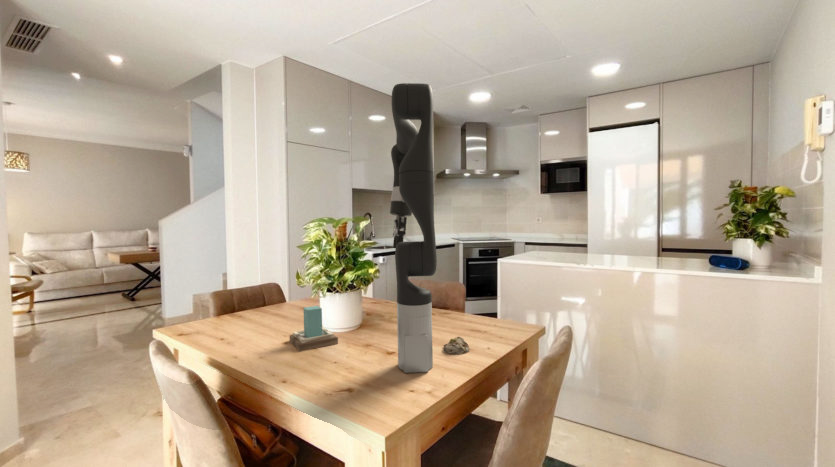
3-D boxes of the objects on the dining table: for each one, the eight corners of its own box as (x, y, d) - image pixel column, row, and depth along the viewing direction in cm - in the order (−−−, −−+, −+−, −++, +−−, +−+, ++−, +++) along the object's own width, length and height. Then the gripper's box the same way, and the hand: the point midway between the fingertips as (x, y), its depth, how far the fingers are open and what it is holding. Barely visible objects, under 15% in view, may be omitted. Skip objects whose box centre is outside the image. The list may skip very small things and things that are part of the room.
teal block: (322, 336, 121) (321, 308, 121) (308, 338, 119) (307, 310, 119) (317, 332, 125) (317, 305, 125) (304, 335, 123) (303, 307, 122)
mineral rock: (468, 349, 107) (441, 339, 110) (464, 363, 108) (438, 353, 110) (475, 338, 117) (451, 330, 120) (471, 352, 118) (447, 342, 120)
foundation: (337, 343, 120) (337, 334, 120) (299, 351, 114) (299, 341, 114) (325, 334, 130) (324, 325, 130) (289, 341, 124) (289, 331, 124)
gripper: (389, 203, 137) (384, 247, 136) (393, 197, 123) (388, 247, 122) (409, 205, 138) (405, 249, 137) (416, 199, 124) (411, 249, 123)
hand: (397, 248), depth 129 cm, fingers open, 8 cm apart
